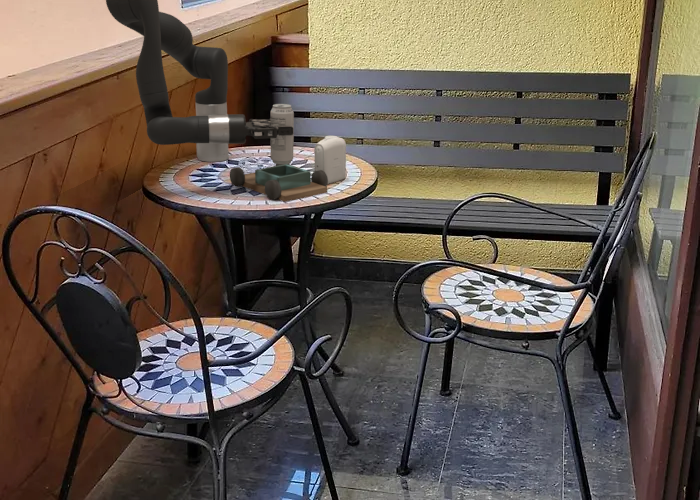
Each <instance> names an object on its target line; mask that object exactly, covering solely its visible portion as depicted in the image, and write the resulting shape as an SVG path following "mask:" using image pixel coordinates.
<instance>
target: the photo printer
mask: <svg viewBox="0 0 700 500" xmlns="http://www.w3.org/2000/svg"><path fill="white" fill-rule="evenodd" d="M313 157H314V171H318V170H323V171H324V172H325V173H326V175H327V177H328V184H332V183H336V182H339V181H341V180H345V178H346V175H347V165H346V164H347V143H346V140H345V139H344V138H342V137H339V136H337V137H328V138H325V137H324V138H323V139H321V140H320V141H318V142H317V143H316V144H315V146H314V156H313ZM328 184H327V185H328Z"/></svg>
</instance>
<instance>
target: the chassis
mask: <svg viewBox="0 0 700 500" xmlns="http://www.w3.org/2000/svg"><path fill="white" fill-rule="evenodd" d="M229 180H230V182H231V185H233V186H234V187H244V188H246V189H249V190H251V191H255V192H256V193H260V194H263V195H265V196H266V197H267V198H268V199H269V200H271V201H273V200H279V201H282V202H284V203H286V202H291V201H295V200H296V201H297V200H300V199H303V198H304V197H305V198H308V197H312V196H313V195H314V196H317V195H322V194H326V193H328V187H327V186H328V177H327V175H326V173H325V172H324V171H323V170H318V171H315V170H314V171H313V172H312V174H311V171H310V170H308V169H307V170H306V169H303V168H300V167H298V166H294V165H291V163H289V164H275V165H274V166H269V167H262V168H258V169H255V170H254V172H252V173H251V172H249V173H244V170H243V169H242V167H238V166H237V167H233V168H231V169H230V171H229ZM305 198H304V199H305Z"/></svg>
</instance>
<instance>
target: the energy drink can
mask: <svg viewBox="0 0 700 500" xmlns="http://www.w3.org/2000/svg"><path fill="white" fill-rule="evenodd" d="M294 118H295V113H294V110H293V108H292V104H288V103H287V104H286V103H275V104H273V105H272V108H271V110H270V119H271V126H278V127H286V126H292V127H293V135H282V136H277V138H270V160H271V161H272V163H273V164H275V165H276V164H289V163H290V164H291V163H292V161H293V160H294V140H295V139H294V138H295V137H294V135H295V134H294V133H295V132H294V130H295V129H294V128H295V127H294V126H295V125H294V124H295V123H294V121H295V119H294ZM270 133H272V131H270Z"/></svg>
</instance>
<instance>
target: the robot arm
mask: <svg viewBox="0 0 700 500" xmlns="http://www.w3.org/2000/svg"><path fill="white" fill-rule="evenodd" d="M105 4H106V8H107V9H108V11H109V13H110V15H111V16H112V17H113V19H114V20H115V21H116V22H118V23H119V24H121V25H122V26H125V27H126V28H129V29H130V30H132V31H134V32H136V33H138V34H139V35H141V36H143V40H142V46H141V50H140V53H139V57H138V60H137V64H136V67H135V68H136V69H135V79H136V85H137V89H138V94H139V98H140V102H141V104H142V107H143V110H144V111H143V112H144V116H145V121H146V134H147V137H148V139H149V140H150V141H151V143H153V144H157V145H161V146H162V145H163V146H164V145H165V146H166V145H167V146H169V145H180V144H181V145H182V144H189V143H190V144H196V145H195V146H196V147H195V148H196V157H197V159H198V160H199V161H203V162H210V163H211V162H212V163H215V162H223V161H227V160H229V158H230V156H229V145H231V144H232V145H237V144H238V145H239V144H240V145H241V144H246V141H247V136H250V137H252V138H253V139H255V140H259V139H260V140H261V139H263V140H264V139H271V138H277V136H282V135H293V127H292V126H286V127H278V126H271V118H269V119H257V118H255V119H253V118H250V119H249V121H246V116H245V114H243V113H242V114H240V113H239V114H233V113H231V114H228V105H227V103H228V101H227V99H228V98H227V96H228V85H229V84H228V82H229V81H228V76H229V73H228V72H229V60H228V56H227V52H226V51H225V49H223V48H221V47H215V46H213V47H211V46H210V47H209V46H198V45H195V44H193V42H194V39H193V33H192V31H191V30H190V28H189V27H188V26H187V25H186V24H184V23H183V22H182V21H181V20H180V19H179V18H178V17H176V16H175V15H172V14H169V13H166V12H162V11H160V8H159V1H158V0H105ZM162 51H163V52H164V53H165V54H167V55H168V56H170V57H172V58H173V59H174V60H175V61H176V62H178V63H179V64H180V65H181V66H182V67H183V68H184V69H185V71H186V72H187V73H188V74H190V75H191V76H192V77H194V78H196V79H200V80H201V79H202V80H210V83H209V84H210V85H209V87H207V88H204V89H202V90H200V91H197V92H196V93H194V94H195V95H194V98H195V99H194V101H195V115H190V116H186V117H185V116H184V117H182V116H181V117H180V116H179V117H177V116H173V113H172V109H171V105H170V99H169V98H170V97H169V96H170V95H169V91H168V85H167V80H166V77H165V71H164V66H163V65H164V63H163V56H162V53H163V52H162ZM271 131H272V133H271Z"/></svg>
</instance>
